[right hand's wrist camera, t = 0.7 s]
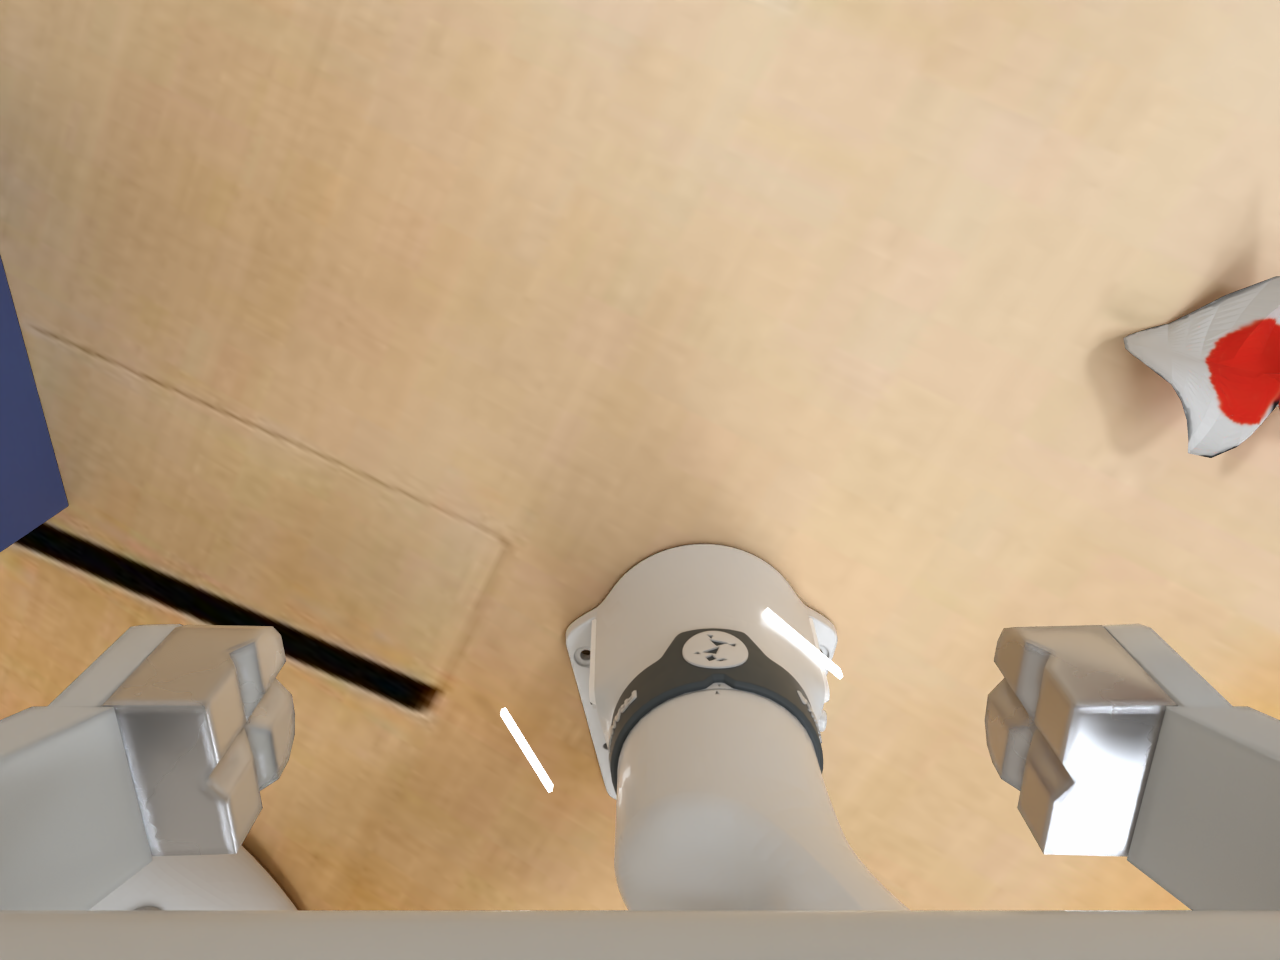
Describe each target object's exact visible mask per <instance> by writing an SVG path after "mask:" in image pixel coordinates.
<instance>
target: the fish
mask: <svg viewBox="0 0 1280 960" xmlns="http://www.w3.org/2000/svg"><path fill="white" fill-rule="evenodd" d="M1124 344H1125V348H1126V349H1127V350H1128V351H1129V352H1130V353H1131V354H1132V355H1133V356H1135V357H1136V358H1138V359H1139V360H1140V361H1142V362H1143V363H1144V364H1146V365H1147V366H1148V367H1149V368H1151V369H1152V370H1153V371H1155V372H1156V373H1157V374H1158V375H1160V376H1161V377H1162V378H1164V379H1165V380H1166V381H1167V382H1169V383H1170V384H1171V385H1172V386H1173V388H1174V390H1175V391H1176V393H1177V395H1178V396H1179V398H1180V400H1181V402H1182V405H1183V409H1184V412H1185V415H1186V419H1187V427H1188V439H1189V443H1188V453H1190V454H1195V455H1200V456H1204V457H1209V458H1212V457H1214V456H1217V455H1219V454H1221V453H1224V452H1226V451H1228V450H1231V449H1233V448H1236V447H1237V446H1239V445H1240V444H1241V443H1242V442H1243V441H1245V440H1246V439H1247V438H1248V437H1250V436H1251V435H1252V434H1253V433H1254V431H1255V430H1256V429H1257V428H1258V427H1259V426H1260V425H1261V424H1262V423H1263V421H1264V420H1265V419H1266V418H1267V417H1268V416H1269V414H1270V413H1271V412H1272V411H1273V410H1274V408H1275V407H1279V409H1280V276H1276V277H1273V278H1271V279H1268V280H1265V281H1262V282H1260V283H1257V284H1254V285H1252V286H1249V287H1246V288H1244V289H1241V290H1238V291H1235V292H1233V293H1230V294H1227V295H1225V296H1223V297H1221V298H1219V299H1217V300H1215V301H1213V302H1211V303H1209V304H1207V305H1205V306H1203V307H1201V308H1199V309H1197V310H1196V311H1193V312H1191V313H1189V314H1187V315H1185V316H1183V317H1181V318H1179V319H1177V320H1175V321H1173V322H1171V323H1169V324H1165V325H1161V326H1157V327H1153V328H1149V329H1146V330H1143V331H1140V332H1136V333H1134V334H1131V335H1128V336H1127V337H1125V338H1124Z"/></svg>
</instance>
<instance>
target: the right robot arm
mask: <svg viewBox="0 0 1280 960" xmlns="http://www.w3.org/2000/svg"><path fill="white" fill-rule="evenodd" d="M836 645H837V633H836V628H835V626H834V625H833V623H832V622H831V621H829V620H828V619H827V618H826V617H824V616H823V615H821V614H819V613H818V612H816V611H814V610H813V609H811V608H809V607H807V606H806V605H805V604H804V603H803V602H802V601H801V600H800V599H799V597H798V596H797V595H796V593H795V592H794V590H793V589H792V587H791V586H790V584H789V583H788V582H787V581H786V579H785V578H784V577H783V576H782V575H781V574H780V573H779V572H778V571H777V570H776V569H775V568H773V567H772V566H771V565H769V564H768V563H767V562H765V561H764V560H762V559H760V558H758V557H757V556H755V555H753V554H750V553H748V552H745V551H743V550H740V549H737V548H733V547H729V546H723V545H716V544H692V545H684V546H678V547H674V548H671V549H667V550H664V551H662V552H659V553H656V554H654V555H652V556H650V557H648V558H646V559H645V560H643V561H641V562H640V563H638V564H637V565H635V566H634V567H633V568H631V569H630V570H629V571H628V572H627V573H626V574H624V575H623V576H622V578H621V579H620V580H619V581H618V582H617V583H616V584H615V586H614V587H613V588H612V590H611V591H610V593H609V594H608V595H607V597H606V598H605V599H604V600H603V602H602V603H601V604H600V605H599V606H598V607H596V608H595V609H593V610H591V611H589V612H588V613H586V614H584V615H582V616H581V617H579V618H578V619H576V620H575V621H574V622H572V623H571V624H570V625H569V627H568V628H567V630H566V646H567V650H568V654H569V657H570V661H571V664H572V668H573V672H574V675H575V679H576V683H577V686H578V690H579V693H580V697H581V701H582V704H583V708H584V712H585V715H586V719H587V722H588V726H589V730H590V733H591V737H592V741H593V744H594V748H595V751H596V755H597V759H598V762H599V766H600V770H601V773H602V777H603V780H604V784H605V787H606V790H607V792H608V794H609V795H610V796H611V797H612V798H614V799H616V800H617V801H616V827H615V856H614V868H615V876H616V880H617V885H618V888H619V891H620V894H621V896H622V899H623V901H624V903H625V905H626V907H627V909H628V910H629V911H294V910H89V909H90V908H92V907H93V906H94V905H96V904H97V903H98V902H100V901H101V900H102V899H103V898H105V897H106V896H107V895H109V894H110V893H111V892H113V891H114V890H115V889H116V888H118V887H119V886H120V885H122V884H123V883H124V882H126V881H127V880H128V879H129V878H131V877H132V876H133V875H135V874H136V873H137V872H139V871H140V870H141V869H142V868H144V867H145V866H146V865H148V864H149V863H150V862H152V861H153V858H152V856H184V855H219V854H237V852H238V850H239V848H240V847H241V845H242V843H243V841H244V840H245V838H246V836H247V834H248V833H249V831H250V829H251V827H252V826H253V824H254V822H255V820H256V819H257V817H258V815H259V813H260V811H261V810H262V808H263V807H262V802H261V796H260V791H261V790H262V789H264V788H265V787H267V786H268V785H270V784H271V783H273V782H275V781H276V780H278V779H279V778H280V776H281V774H282V772H283V770H284V768H285V766H286V764H287V762H288V760H289V757H290V752H291V748H292V744H293V739H294V735H295V712H294V705H293V699H292V694H291V693H290V692H289V691H288V690H287V689H286V688H285V687H284V686H283V685H282V684H281V683H280V682H279V681H278V680H277V679H276V678H275V677H276V676H277V674H278V673H279V671H280V670H281V668H282V667H283V665H284V664H285V662H286V658H285V653H284V648H283V643H282V639H281V635H280V634H279V633H278V632H277V631H276V630H275V629H274V628H273V627H271V626H219V625H185V626H183V625H181V624H160V625H139V626H133V627H130V628H129V629H128V630H127V631H126V632H125V633H124V634H123V635H122V636H121V637H119V638H118V639H117V640H116V641H115V642H114V643H113V644H112V645H111V646H110V647H109V648H108V649H107V650H106V651H105V652H104V653H103V654H102V655H101V656H100V657H99V658H97V659H96V660H95V661H94V662H93V663H92V664H91V665H90V666H89V667H88V668H87V669H86V670H85V671H84V672H83V673H82V674H81V675H80V676H79V677H78V678H77V679H75V680H74V681H73V682H72V683H71V684H70V685H69V686H68V687H67V688H66V689H65V690H64V691H63V692H62V693H61V694H60V695H59V696H58V697H57V698H56V699H55V700H53V701H52V702H51V703H50V704H49V705H48V706H47V707H30V708H28V709H25V710H23V711H21V712H18V713H16V714H14V715H11V716H9V717H7V718H4V719H2V720H0V960H1280V720H1278V719H1275V718H1273V717H1271V716H1268V715H1266V714H1264V713H1262V712H1259V711H1257V710H1255V709H1252V708H1250V707H1233V706H1232V705H1231V704H1230V703H1229V702H1228V701H1227V700H1226V699H1225V698H1223V697H1222V696H1221V695H1220V694H1219V693H1218V692H1217V691H1216V690H1215V689H1214V688H1213V687H1212V686H1211V685H1210V684H1209V683H1208V682H1207V681H1206V680H1205V679H1204V678H1203V677H1202V676H1200V675H1199V674H1198V673H1197V672H1196V671H1195V670H1194V669H1193V668H1192V667H1191V666H1190V665H1189V664H1188V663H1187V662H1186V661H1185V660H1184V659H1183V658H1182V657H1181V656H1180V655H1179V654H1178V653H1176V652H1175V651H1174V650H1173V649H1172V648H1171V647H1170V646H1169V645H1168V644H1167V643H1166V642H1165V641H1164V640H1163V639H1162V638H1161V637H1160V636H1159V635H1158V634H1157V633H1156V632H1155V631H1153V630H1152V629H1151V628H1149V627H1147V626H1144V625H1141V624H1121V625H1087V626H1047V627H1013V628H1004V629H1003V631H1002V633H1001V635H1000V637H999V639H998V641H997V646H996V652H995V657H994V662H995V664H996V665H997V667H998V668H999V670H1000V671H1001V673H1002V674H1003V676H1004V677H1005V678H1004V679H1003V680H1002V681H1001V682H1000V683H999V684H998V685H997V686H996V687H995V688H994V689H993V690H992V691H991V692H990V693H989V694H988V699H987V707H986V715H985V729H986V740H987V746H988V750H989V753H990V756H991V759H992V763H993V764H994V766H995V768H996V770H997V772H998V774H999V776H1000V778H1001V779H1002V780H1004V781H1005V782H1007V783H1009V784H1010V785H1012V786H1013V787H1015V788H1016V789H1018V790H1019V791H1020V796H1019V802H1018V807H1017V808H1018V810H1019V812H1020V813H1021V815H1022V817H1023V819H1024V820H1025V822H1026V824H1027V826H1028V827H1029V829H1030V831H1031V833H1032V834H1033V836H1034V838H1035V840H1036V841H1037V843H1038V845H1039V847H1040V848H1041V850H1042V852H1043V854H1059V855H1095V856H1128V857H1127V861H1129V862H1130V863H1131V864H1133V865H1134V866H1135V867H1137V868H1138V869H1139V870H1140V871H1142V872H1143V873H1144V874H1146V875H1147V876H1148V877H1150V878H1151V879H1152V880H1153V881H1155V882H1156V883H1157V884H1159V885H1160V886H1161V887H1163V888H1164V889H1165V890H1166V891H1168V892H1169V893H1170V894H1172V895H1173V896H1174V897H1175V898H1177V899H1178V900H1179V901H1181V902H1182V903H1183V904H1185V905H1186V906H1187V907H1188V908H1190V909H1191V910H1058V911H1057V910H1055V911H911V910H910V909H909V908H907V907H906V906H905V905H904V904H903V903H901V902H900V901H899V900H898V899H897V898H896V897H895V896H894V895H893V894H892V893H891V892H890V891H889V890H887V889H886V888H885V887H884V886H883V885H882V884H881V883H880V882H879V881H878V880H877V879H876V878H875V876H874V875H873V874H872V873H871V872H870V871H869V870H868V869H867V867H866V866H865V865H864V864H863V863H862V862H861V860H860V859H859V858H858V856H857V855H856V854H855V852H854V851H853V849H852V848H851V846H850V845H849V843H848V841H847V840H846V837H845V835H844V833H843V831H842V829H841V826H840V824H839V821H838V819H837V817H836V814H835V811H834V809H833V806H832V803H831V801H830V798H829V795H828V792H827V789H826V786H825V783H824V780H823V777H822V771H823V754H822V748H821V743H822V741H821V735H820V731H821V732H823V731H824V730H825V728H826V723H827V715H826V712H825V711H824V710H823V705H824V703H825V702H827V701H829V697H830V692H829V686H828V681H827V677H826V676H827V673H828V670H829V671H830V672H831V673H833V674H834V675H835V676H836V677H837V678H839V679H841V678H842V677H843V675H842V672H841V669H840V668H839V667H838V666H837V665H835V664H834V663H833V662H832V658H833V654H834V651H835V648H836ZM583 650H589V651H591V652H590V654H588V655H586V654H583V653H582V651H583ZM500 715H501V717H502V719H503V720H504V722H505V724H506V725H507V727H508V728H509V730H510V732H511V733H512V735H513V736H514V738H515V740H516V741H517V743H518V744H519V746H520V748H521V749H522V751H523V752H524V754H525V756H526V757H527V759H528V760H529V762H530V764H531V765H532V767H533V769H534V770H535V772H536V773H537V775H538V777H539V778H540V780H541V781H542V783H543V785H544V786H545V788H546V789H547V791H548V793H549V792H552V791H553V784H552V782H551V780H550V779H549V777H548V775H547V774H546V772H545V771H544V769H543V767H542V766H541V764H540V762H539V761H538V759H537V758H536V756H535V754H534V753H533V751H532V749H531V748H530V746H529V745H528V743H527V741H526V740H525V738H524V737H523V735H522V733H521V732H520V730H519V728H518V727H517V725H516V724H515V722H514V720H513V719H512V717H511V715H510V714H509V712H508V711H507V709H506V708H503V709H501V713H500Z"/></svg>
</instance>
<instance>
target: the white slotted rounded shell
mask: <svg viewBox="0 0 1280 960" xmlns="http://www.w3.org/2000/svg"><path fill="white" fill-rule="evenodd" d="M152 858H153V861H152V862H150V863H149V864H148V865H146V866H145V867H144V868H142V869H141V870H140V871H139V872H137V873H136V874H135V875H133V876H132V877H131V878H129V879H128V880H127V881H126V882H124V883H123V884H122V885H120V886H119V887H118V888H116V889H115V890H114V891H113V892H111V893H110V894H109V895H107V896H106V897H105V898H103V899H102V900H101V901H100V902H98V903H97V904H96V905H94V906H93V907H92V908H90V909H89V910H294V911H298V910H297V909H296V907H295V906H294V904H293V903H292V902H291V900H290V899H289V898H288V897H287V895H286V894H285V893H284V891H283V890H282V889H281V888H280V886H279V885H278V884H277V883H276V882H275V880H274V879H273V878H272V877H271V876H270V875H269V873H268V872H267V871H266V870H265V869H264V868H263V867H262V866H261V865H260V864H259V863H258V862H257V860H256V859H255V858H254V857H253V856H252V855H251V854H250V853H249V852H248V851H247V850H246V849H245V848H244V847H243V846H242V845H241V847H240V848H239V850H238V852H237V854H219V855H184V856H152Z"/></svg>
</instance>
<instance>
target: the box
mask: <svg viewBox="0 0 1280 960" xmlns="http://www.w3.org/2000/svg"><path fill="white" fill-rule="evenodd" d="M66 507H68V501H67V498H66V494H65V490H64V487H63V483H62V479H61V476H60V472H59V468H58V465H57V461H56V458H55V454H54V450H53V447H52V443H51V439H50V436H49V432H48V428H47V425H46V421H45V417H44V414H43V410H42V406H41V403H40V399H39V395H38V392H37V388H36V384H35V381H34V377H33V373H32V370H31V366H30V362H29V359H28V355H27V351H26V348H25V344H24V340H23V337H22V333H21V330H20V326H19V322H18V319H17V315H16V311H15V308H14V304H13V300H12V297H11V293H10V289H9V286H8V282H7V278H6V275H5V271H4V267H3V264H2V260H1V256H0V552H1V551H3V550H4V549H6V548H7V547H9V546H10V545H12V544H13V543H15V542H16V541H18V540H19V539H20V538H22V537H23V536H25V535H26V534H28V533H29V532H31V531H32V530H34V529H35V528H37V527H38V526H40V525H41V524H43V523H44V522H46V521H47V520H48V519H50V518H51V517H53V516H54V515H56V514H57V513H59V512H60V511H62V510H63V509H65V508H66Z"/></svg>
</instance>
